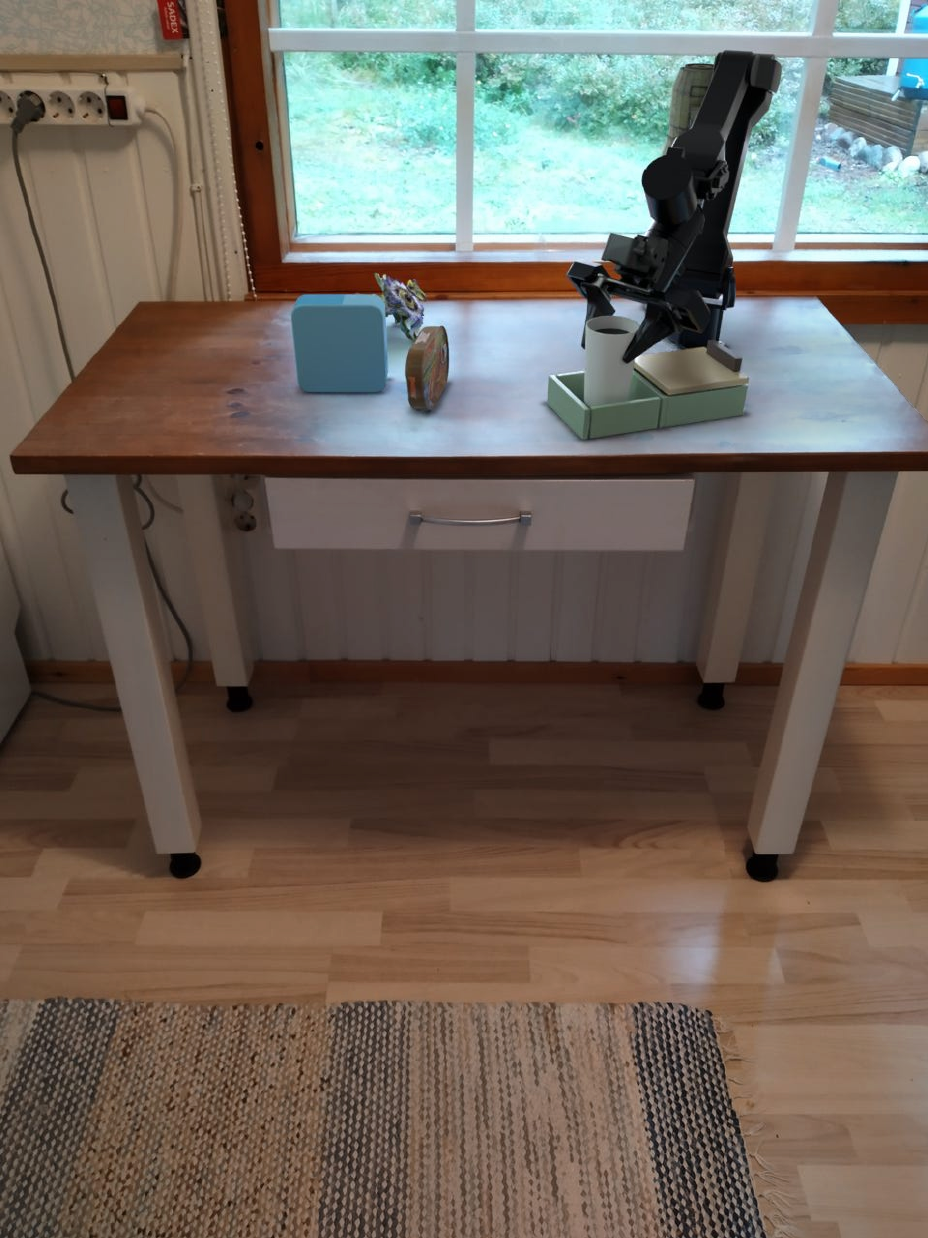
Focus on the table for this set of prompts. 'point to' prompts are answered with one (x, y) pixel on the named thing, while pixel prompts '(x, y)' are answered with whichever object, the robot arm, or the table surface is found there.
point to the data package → (340, 342)
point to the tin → (427, 367)
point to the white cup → (608, 360)
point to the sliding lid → (693, 368)
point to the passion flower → (402, 304)
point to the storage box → (639, 406)
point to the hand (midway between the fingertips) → (603, 354)
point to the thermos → (687, 101)
